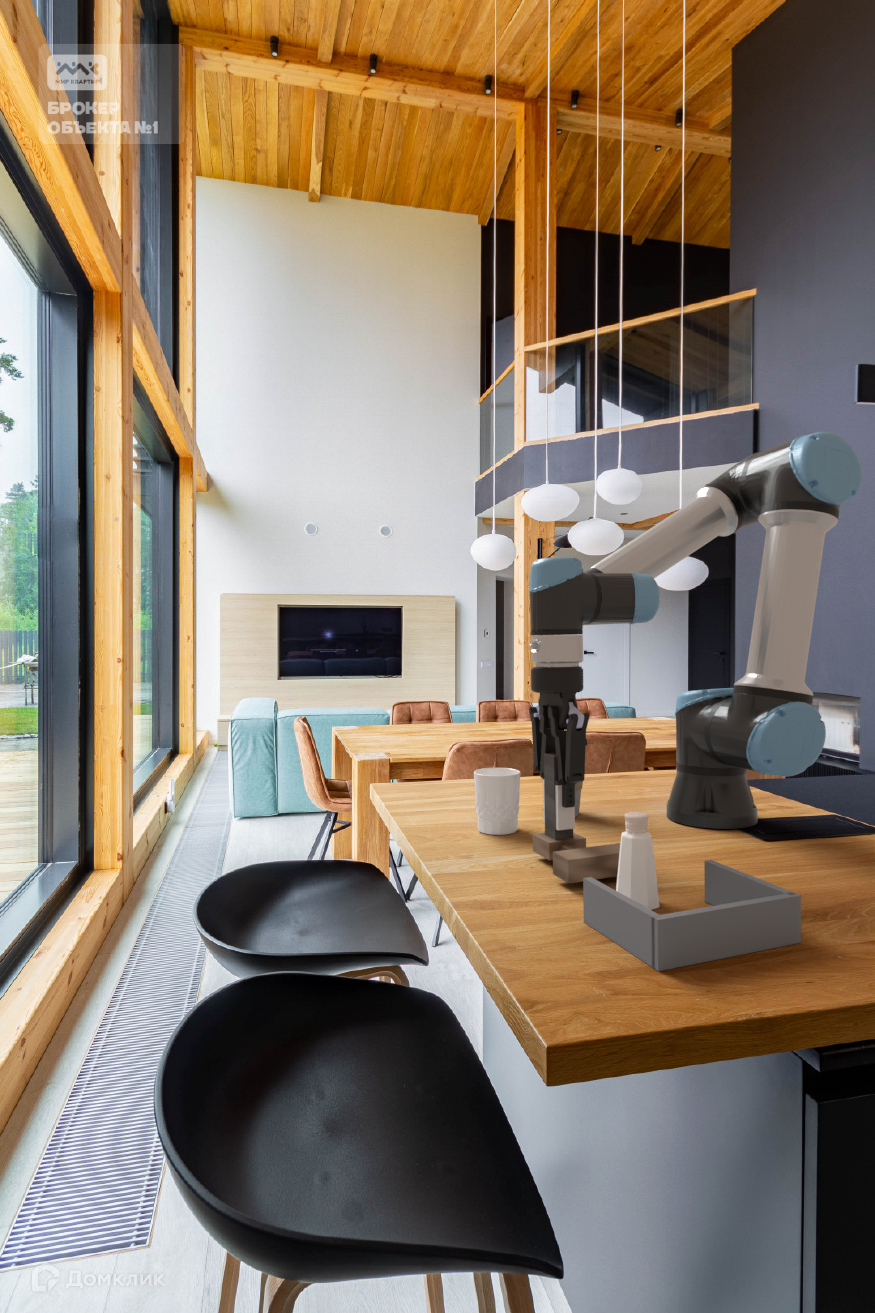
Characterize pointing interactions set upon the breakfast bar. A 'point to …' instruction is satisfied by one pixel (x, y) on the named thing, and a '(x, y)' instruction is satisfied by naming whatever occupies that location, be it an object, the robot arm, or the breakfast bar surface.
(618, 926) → the box
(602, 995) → the breakfast bar surface
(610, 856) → the block post with base
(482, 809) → the white cup
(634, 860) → the salt shaker
